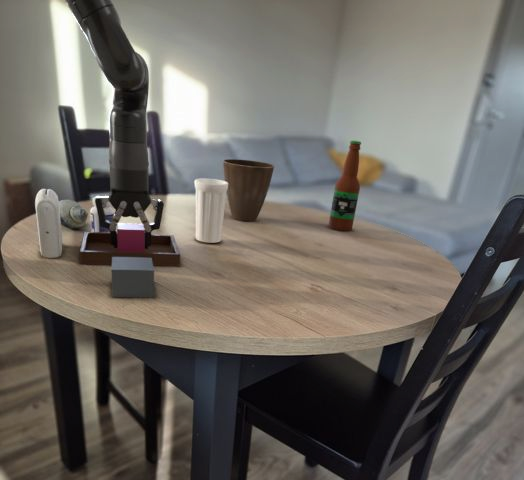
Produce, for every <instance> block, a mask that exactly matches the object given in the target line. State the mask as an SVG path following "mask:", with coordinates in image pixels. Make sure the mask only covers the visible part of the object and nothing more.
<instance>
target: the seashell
mask: <svg viewBox="0 0 524 480" xmlns="http://www.w3.org/2000/svg"><path fill="white" fill-rule="evenodd" d="M59 210H60V220H61V226H63V227H65V229H70V230H78V229H80V228H82V227H83V226H84V225H85V224H86V222H87V219H88V217H89V213H88V212H87V210H86V209H84V208H83V207H82V206H80V205H79V204H78V202H76V201H75V200H73V199H68V198H67V199H61V200H59Z"/></svg>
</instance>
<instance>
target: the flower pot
mask: <svg viewBox="0 0 524 480" xmlns="http://www.w3.org/2000/svg"><path fill="white" fill-rule="evenodd" d="M222 165H223V166H222V167H223V168H222V169H223V179H224V180H223V181H226V182H228V189H227V192H226V199H227V202H228V203H227V204H228V206H229V211H230V214H231V217H232V219H234V220H237V221H241V222H255V221H256V220H257V219H258V217H259V215H260V213H261V210H262V208H263V206H264V203H265V201H266V198H267V194H268V192H269V189H270V185H271V182H272V178H273V173H274V170H275V164H272V163H269V162H262V161H256V160H249V159H239V158H238V159H234V158H228V159H226V158H225V159H223V160H222Z"/></svg>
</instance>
